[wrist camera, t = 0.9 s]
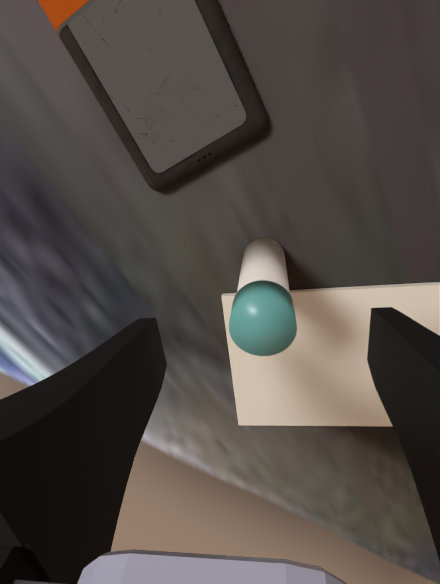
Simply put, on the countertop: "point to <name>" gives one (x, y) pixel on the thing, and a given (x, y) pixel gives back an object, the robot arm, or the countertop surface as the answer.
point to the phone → (163, 79)
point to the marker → (263, 301)
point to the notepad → (324, 358)
